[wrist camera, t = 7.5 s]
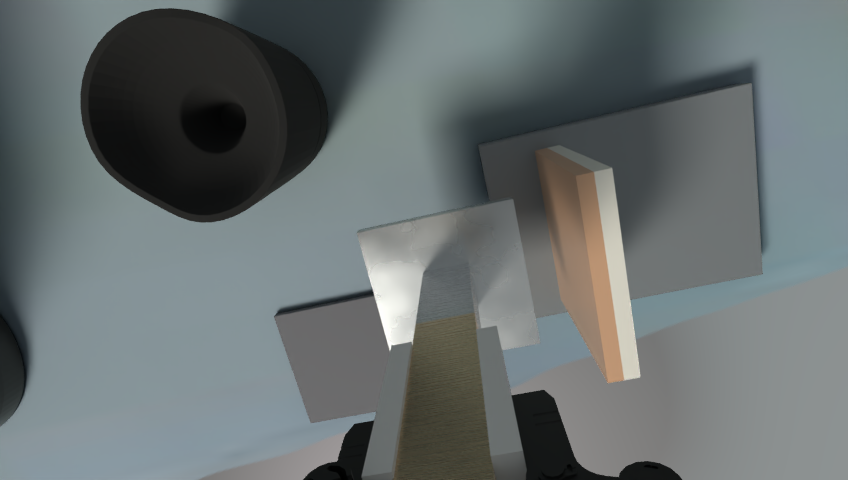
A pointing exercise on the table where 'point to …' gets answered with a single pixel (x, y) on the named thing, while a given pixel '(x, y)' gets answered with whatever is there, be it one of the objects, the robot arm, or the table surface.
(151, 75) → the pen holder
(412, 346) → the robot arm
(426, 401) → the wooden post on base
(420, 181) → the table surface
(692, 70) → the table surface
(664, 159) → the slate board
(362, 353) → the mat
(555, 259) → the tile
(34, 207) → the table surface
